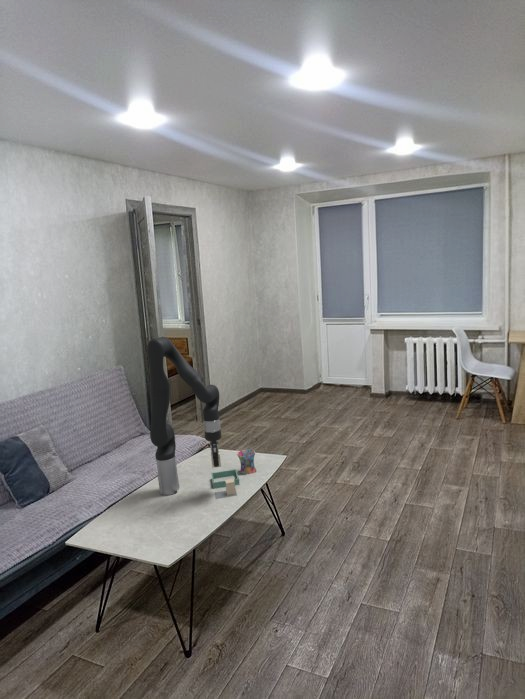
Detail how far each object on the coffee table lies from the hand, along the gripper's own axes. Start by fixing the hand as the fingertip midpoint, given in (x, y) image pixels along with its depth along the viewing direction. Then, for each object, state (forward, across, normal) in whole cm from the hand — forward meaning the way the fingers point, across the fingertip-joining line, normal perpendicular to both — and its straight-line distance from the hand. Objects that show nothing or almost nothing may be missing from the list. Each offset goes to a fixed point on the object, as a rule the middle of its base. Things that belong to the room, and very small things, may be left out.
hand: (216, 464), depth 233 cm
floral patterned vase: (+15, -22, +16) cm, 32 cm away
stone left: (+1, 0, 0) cm, 1 cm away
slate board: (+15, +2, +3) cm, 15 cm away
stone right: (+14, +2, +5) cm, 15 cm away
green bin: (+15, -12, +4) cm, 20 cm away
